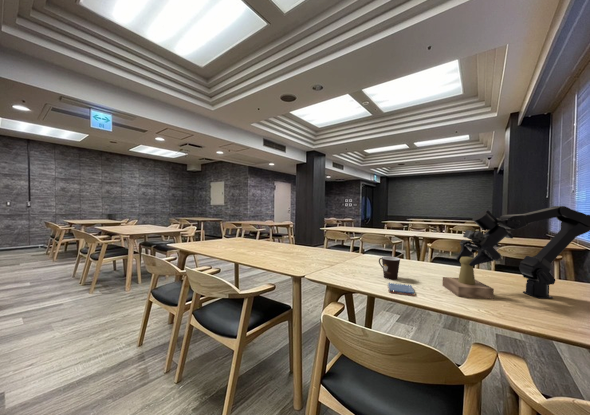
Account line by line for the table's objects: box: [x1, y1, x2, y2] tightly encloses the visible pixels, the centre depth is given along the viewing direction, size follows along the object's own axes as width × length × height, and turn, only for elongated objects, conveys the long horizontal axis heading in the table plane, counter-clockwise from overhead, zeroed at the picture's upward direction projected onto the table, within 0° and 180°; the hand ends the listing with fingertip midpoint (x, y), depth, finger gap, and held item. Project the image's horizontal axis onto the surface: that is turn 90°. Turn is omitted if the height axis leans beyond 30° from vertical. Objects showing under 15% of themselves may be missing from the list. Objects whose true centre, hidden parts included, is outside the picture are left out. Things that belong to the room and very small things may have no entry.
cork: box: [458, 256, 476, 285], centre depth 101 cm, size 6×6×11 cm
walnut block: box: [442, 276, 495, 299], centre depth 101 cm, size 13×13×4 cm
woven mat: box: [387, 282, 416, 297], centre depth 101 cm, size 10×11×2 cm
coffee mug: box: [378, 255, 401, 281], centre depth 120 cm, size 12×9×10 cm
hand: (463, 262), depth 101 cm, fingers open, 9 cm apart
